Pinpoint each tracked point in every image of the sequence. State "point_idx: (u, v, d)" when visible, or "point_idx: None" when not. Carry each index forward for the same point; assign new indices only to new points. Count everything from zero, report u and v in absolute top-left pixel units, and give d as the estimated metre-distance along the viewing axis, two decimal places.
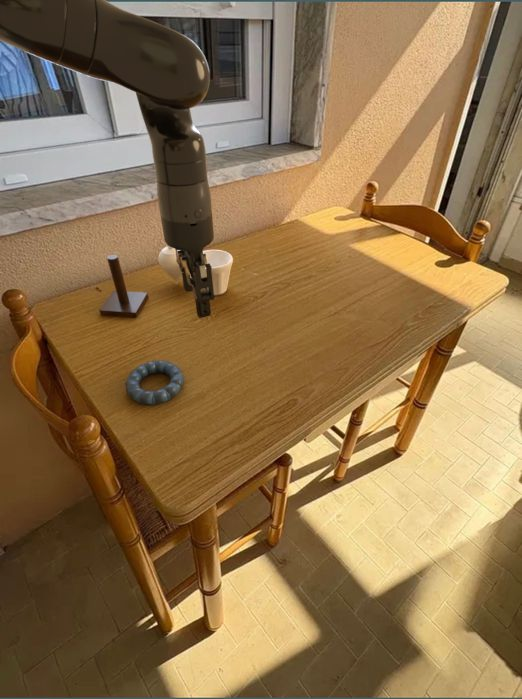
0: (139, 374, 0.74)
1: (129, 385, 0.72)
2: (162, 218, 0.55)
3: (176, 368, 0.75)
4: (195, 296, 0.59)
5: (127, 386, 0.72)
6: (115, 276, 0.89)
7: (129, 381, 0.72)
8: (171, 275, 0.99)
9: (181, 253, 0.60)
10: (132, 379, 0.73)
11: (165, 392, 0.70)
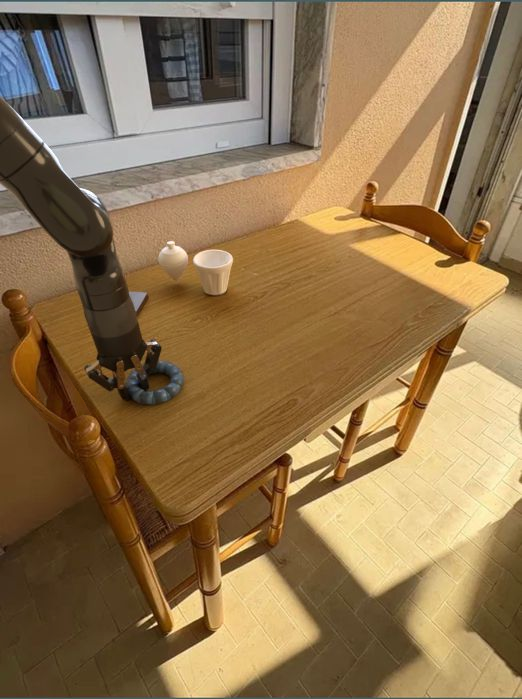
0: None
1: (129, 385, 0.72)
2: None
3: (176, 368, 0.75)
4: None
5: (127, 386, 0.72)
6: None
7: (129, 381, 0.72)
8: (171, 275, 0.99)
9: None
10: (132, 379, 0.73)
11: (165, 392, 0.70)
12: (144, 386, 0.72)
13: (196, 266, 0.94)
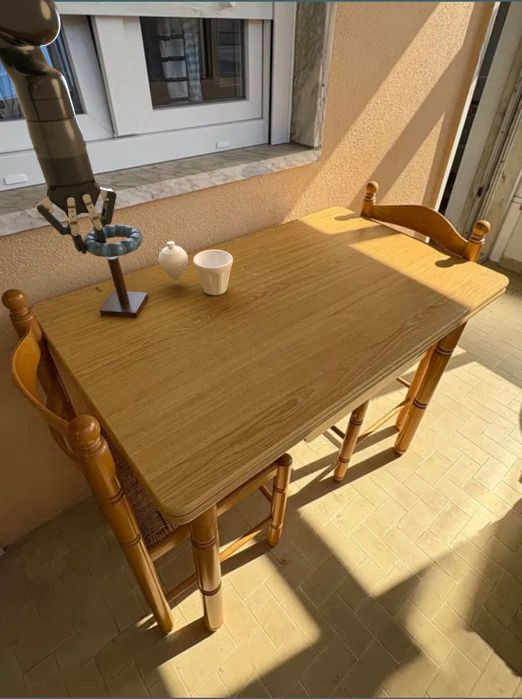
0: None
1: (85, 239, 0.71)
2: None
3: (135, 229, 0.74)
4: None
5: (84, 240, 0.71)
6: (115, 276, 0.89)
7: (86, 236, 0.71)
8: (171, 275, 0.99)
9: None
10: (89, 235, 0.72)
11: (121, 244, 0.69)
12: (100, 240, 0.71)
13: (196, 266, 0.94)
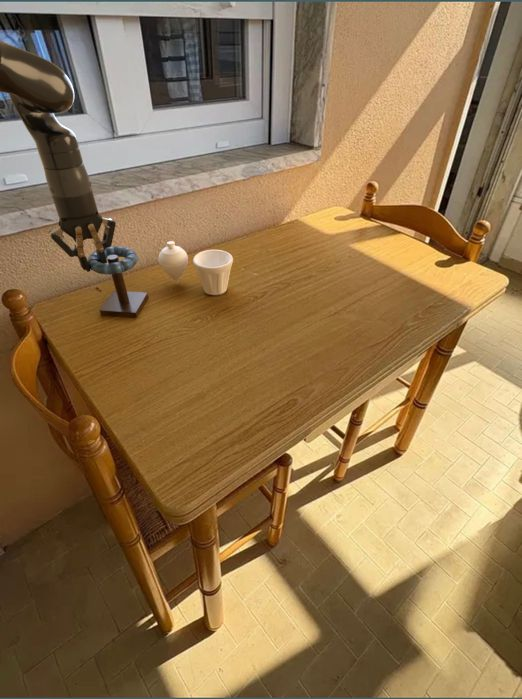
0: None
1: (89, 259, 0.85)
2: None
3: (131, 251, 0.88)
4: None
5: (88, 260, 0.85)
6: (115, 276, 0.89)
7: (90, 257, 0.85)
8: (171, 275, 0.99)
9: None
10: (92, 255, 0.86)
11: (119, 263, 0.83)
12: (102, 260, 0.85)
13: (196, 266, 0.94)
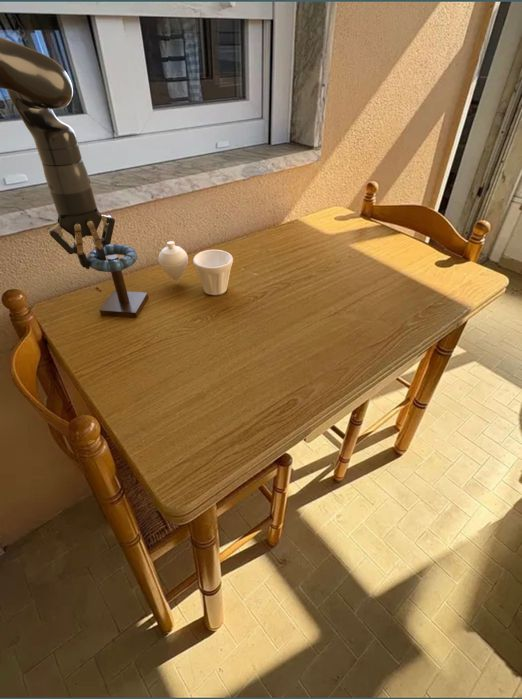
0: None
1: (89, 256, 0.84)
2: None
3: (131, 248, 0.88)
4: None
5: (87, 258, 0.84)
6: (115, 276, 0.89)
7: (89, 254, 0.85)
8: (171, 275, 0.99)
9: None
10: (92, 253, 0.85)
11: (119, 261, 0.83)
12: (101, 257, 0.84)
13: (196, 266, 0.94)
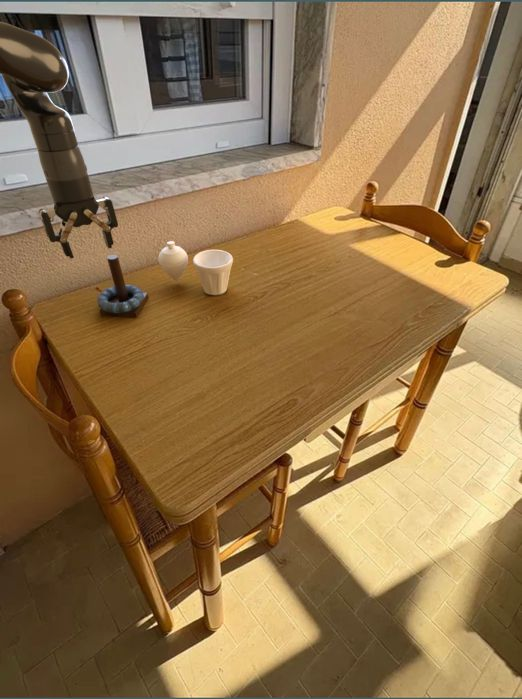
0: (108, 292, 0.94)
1: (99, 298, 0.91)
2: None
3: (138, 289, 0.94)
4: None
5: (98, 299, 0.91)
6: (115, 276, 0.89)
7: (99, 296, 0.92)
8: (171, 275, 0.99)
9: None
10: (102, 295, 0.92)
11: (126, 303, 0.90)
12: (108, 240, 0.83)
13: (196, 266, 0.94)
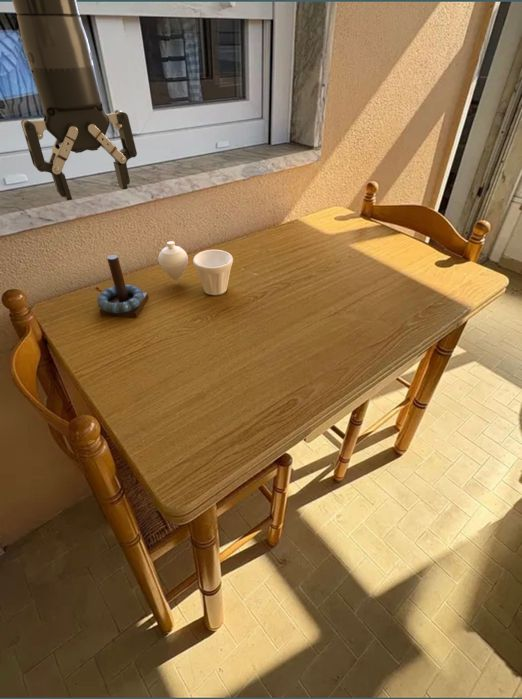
0: (108, 292, 0.94)
1: (99, 298, 0.91)
2: None
3: (138, 289, 0.94)
4: None
5: (98, 299, 0.91)
6: (115, 276, 0.89)
7: (99, 296, 0.92)
8: (171, 275, 0.99)
9: None
10: (102, 295, 0.92)
11: (126, 303, 0.90)
12: (123, 176, 0.59)
13: (196, 266, 0.94)
